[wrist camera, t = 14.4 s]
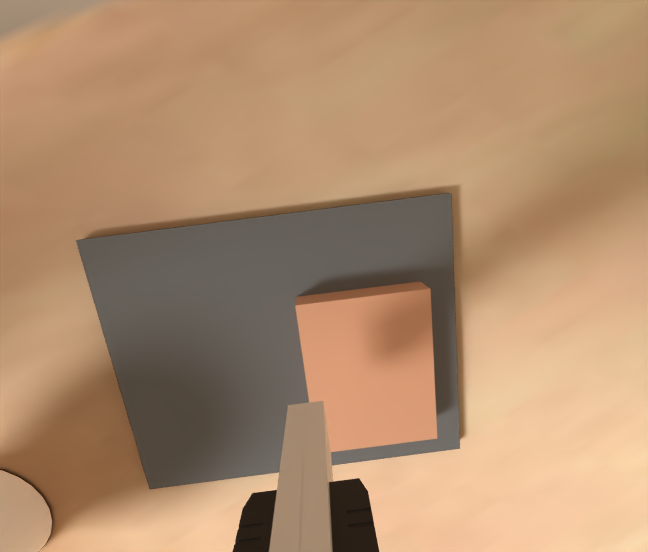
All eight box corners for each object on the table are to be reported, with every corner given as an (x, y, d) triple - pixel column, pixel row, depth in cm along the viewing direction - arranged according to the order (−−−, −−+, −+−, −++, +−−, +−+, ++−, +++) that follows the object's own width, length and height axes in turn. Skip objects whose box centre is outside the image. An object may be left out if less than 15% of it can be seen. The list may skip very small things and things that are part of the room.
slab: (316, 454, 18) (437, 438, 18) (295, 305, 16) (430, 288, 16) (316, 434, 20) (427, 420, 20) (296, 296, 18) (420, 281, 18)
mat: (154, 481, 21) (149, 489, 20) (84, 239, 17) (75, 240, 17) (455, 441, 21) (459, 448, 21) (446, 193, 18) (451, 192, 17)
